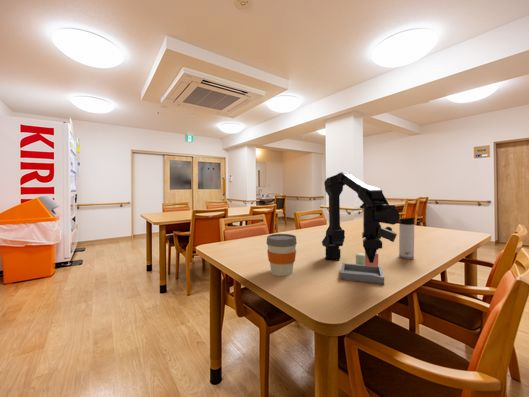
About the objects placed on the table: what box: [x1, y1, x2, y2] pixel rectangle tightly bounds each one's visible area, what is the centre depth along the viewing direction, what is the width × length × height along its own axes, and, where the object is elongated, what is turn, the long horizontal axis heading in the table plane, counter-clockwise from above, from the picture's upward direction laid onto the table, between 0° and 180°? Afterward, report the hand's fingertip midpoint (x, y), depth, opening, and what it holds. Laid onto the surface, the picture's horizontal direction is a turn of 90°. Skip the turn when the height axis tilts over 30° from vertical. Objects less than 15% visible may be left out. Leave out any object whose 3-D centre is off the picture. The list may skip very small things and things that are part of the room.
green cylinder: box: [355, 252, 365, 265], centre depth 105 cm, size 4×4×5 cm
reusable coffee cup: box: [266, 233, 297, 277], centre depth 99 cm, size 13×13×15 cm
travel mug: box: [398, 217, 416, 260], centre depth 116 cm, size 6×7×20 cm
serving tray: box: [340, 262, 385, 285], centre depth 93 cm, size 15×12×3 cm
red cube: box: [364, 250, 379, 267], centre depth 92 cm, size 4×4×5 cm
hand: (371, 260), depth 92 cm, fingers closed on red cube, 4 cm apart
